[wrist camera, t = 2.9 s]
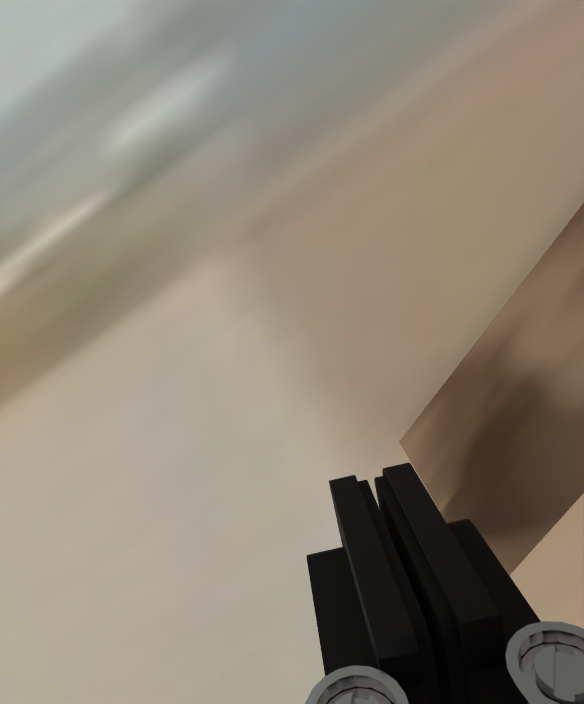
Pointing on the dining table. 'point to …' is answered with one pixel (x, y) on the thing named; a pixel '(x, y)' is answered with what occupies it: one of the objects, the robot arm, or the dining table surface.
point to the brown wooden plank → (514, 412)
